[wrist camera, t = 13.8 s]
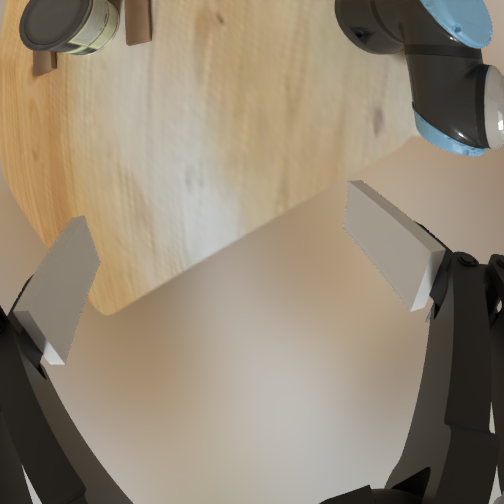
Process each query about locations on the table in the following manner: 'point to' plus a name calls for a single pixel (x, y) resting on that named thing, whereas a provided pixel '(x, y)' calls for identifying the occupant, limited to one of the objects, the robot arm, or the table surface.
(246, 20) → the table surface
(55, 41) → the coffee can
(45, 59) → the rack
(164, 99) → the table surface
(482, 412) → the robot arm
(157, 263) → the table surface
